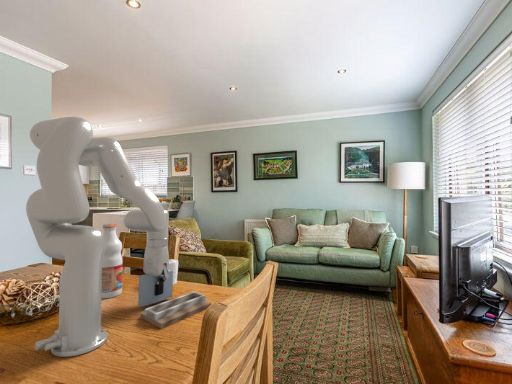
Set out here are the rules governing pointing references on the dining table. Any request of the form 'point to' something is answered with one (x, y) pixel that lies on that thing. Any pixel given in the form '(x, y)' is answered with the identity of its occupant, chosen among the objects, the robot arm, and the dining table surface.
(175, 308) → the track plinth
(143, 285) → the plain gray rectangular block
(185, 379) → the dining table surface
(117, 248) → the fruit juice
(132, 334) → the dining table surface
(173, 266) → the white cup
